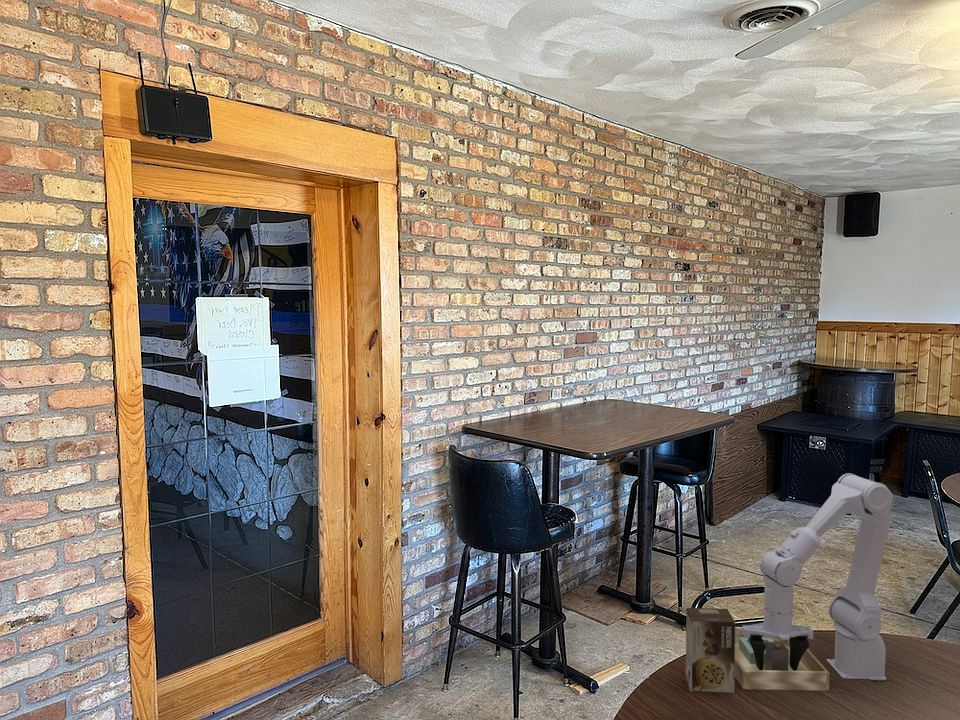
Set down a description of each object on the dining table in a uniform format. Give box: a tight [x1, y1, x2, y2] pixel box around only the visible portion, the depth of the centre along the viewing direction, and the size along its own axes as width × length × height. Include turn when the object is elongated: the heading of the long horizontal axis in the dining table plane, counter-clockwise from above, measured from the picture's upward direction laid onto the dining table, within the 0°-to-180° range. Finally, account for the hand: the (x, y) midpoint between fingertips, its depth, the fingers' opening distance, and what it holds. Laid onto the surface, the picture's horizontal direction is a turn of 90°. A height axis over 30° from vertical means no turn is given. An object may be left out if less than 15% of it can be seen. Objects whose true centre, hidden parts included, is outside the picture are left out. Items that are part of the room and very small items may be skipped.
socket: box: [739, 637, 774, 664], centre depth 156 cm, size 7×7×2 cm
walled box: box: [735, 626, 830, 692], centre depth 152 cm, size 18×20×4 cm
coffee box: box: [685, 607, 736, 694], centre depth 144 cm, size 9×6×16 cm
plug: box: [765, 640, 789, 671], centre depth 146 cm, size 4×4×8 cm
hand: (776, 668), depth 147 cm, fingers open, 7 cm apart
